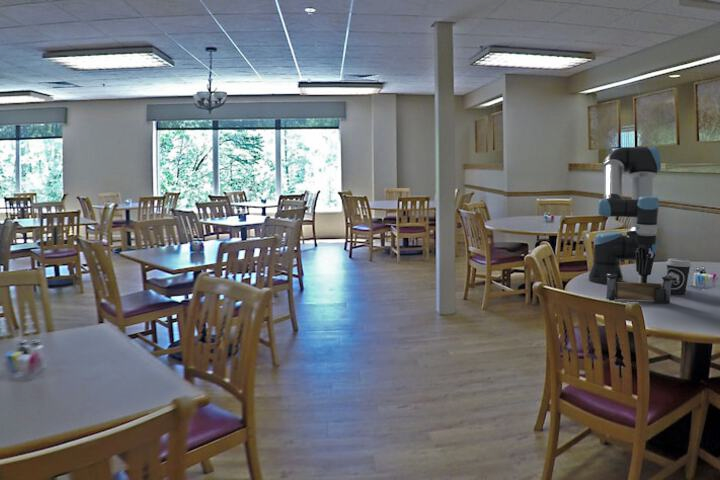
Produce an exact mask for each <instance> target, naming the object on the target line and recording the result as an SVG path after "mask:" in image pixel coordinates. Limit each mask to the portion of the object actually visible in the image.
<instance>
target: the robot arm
mask: <svg viewBox="0 0 720 480" xmlns="http://www.w3.org/2000/svg"><path fill="white" fill-rule="evenodd" d="M661 163H662V161H661V154H660V150H659V148H658V147H655V146H629V147H628V146H627V147H626V146H624V147H623V146H622V147H618V148H615V149H614V150H612V151H611V152H609V153H608V154H607V155H606V156H605V157H604V159H603V161H602V164H601V165H602V166H601V171H602V173H603V198H600V199H599V200H598V215H599V216H601V217H609V218H610V217H614V218H616V217H617V218H618V217H619V218H622V217H623V218H624V217H625V218H627V217H628V218H630V228H629V229H628V230H627V231H626V235H623V233H622V232H621V231H607V232H600V233H596V235H595V236H594V241H593V246H594V247H593V262H592V266H591V268H590V271H589V273H588V280H589V281H590V282H593V283H597V284H598V283H599V284H606V285H607V279H608V276H607V274H608V273H613V274H617V277H616V283H617V282H624V276H623V271H622V269H621V261H631V262H632V261H634V262H635V267H636V268H635V271H636V272H637V273H638V283H648V276H651V275H652V270H653V265H654V259H655V257H656V253H657V248H658V242H659V237H658V236H656V235H657V233H658V231H657V230H658V217H659V215H658V214H659V207H660V202H659V197H657V196H653V188H654V187H653V185H654V178H655V177H656V176H657V175H658V173H659V172H660V171H661V168H662V167H661V166H662V165H661ZM623 172H625V173H628V175H629V177H630V178H631V179H632V184H631V199H629V198H628V199H627V198H623Z"/></svg>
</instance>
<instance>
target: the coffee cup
mask: <svg viewBox="0 0 720 480" xmlns="http://www.w3.org/2000/svg"><path fill="white" fill-rule="evenodd" d="M665 265H666V275H667V276H672V277H673V279H672V282H671V296H678V297H679V296H680V297H681V296H685V295H686V291H687V285H688V280H689V273H690V269H691V267H692V263H691V261H690V260H689V259H686V258H679V257H672V258H671V257H670V258H668V259H667V261H666V262H665Z"/></svg>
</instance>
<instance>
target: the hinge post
mask: <svg viewBox="0 0 720 480" xmlns="http://www.w3.org/2000/svg"><path fill="white" fill-rule="evenodd" d="M607 276H608V279H607V284H606V297H605V298H606V299H609V300H608V301H610V300H614V301H615V300H616V299H615V289H616V277H617V274H613V273H608V274H607ZM606 299H605V300H606Z"/></svg>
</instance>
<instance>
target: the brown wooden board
mask: <svg viewBox="0 0 720 480" xmlns="http://www.w3.org/2000/svg"><path fill="white" fill-rule="evenodd" d="M655 288H662V283H655V282H647V283H639V282H631V281H630V282H627V281H626V282H625V281H623V282H617V283H616V287H615V300H616V301H617V300H622V301H623V300H624V301H625V300H628V301H631V300H632V301H649V302H650V301H651V302H654V294H655Z"/></svg>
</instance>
